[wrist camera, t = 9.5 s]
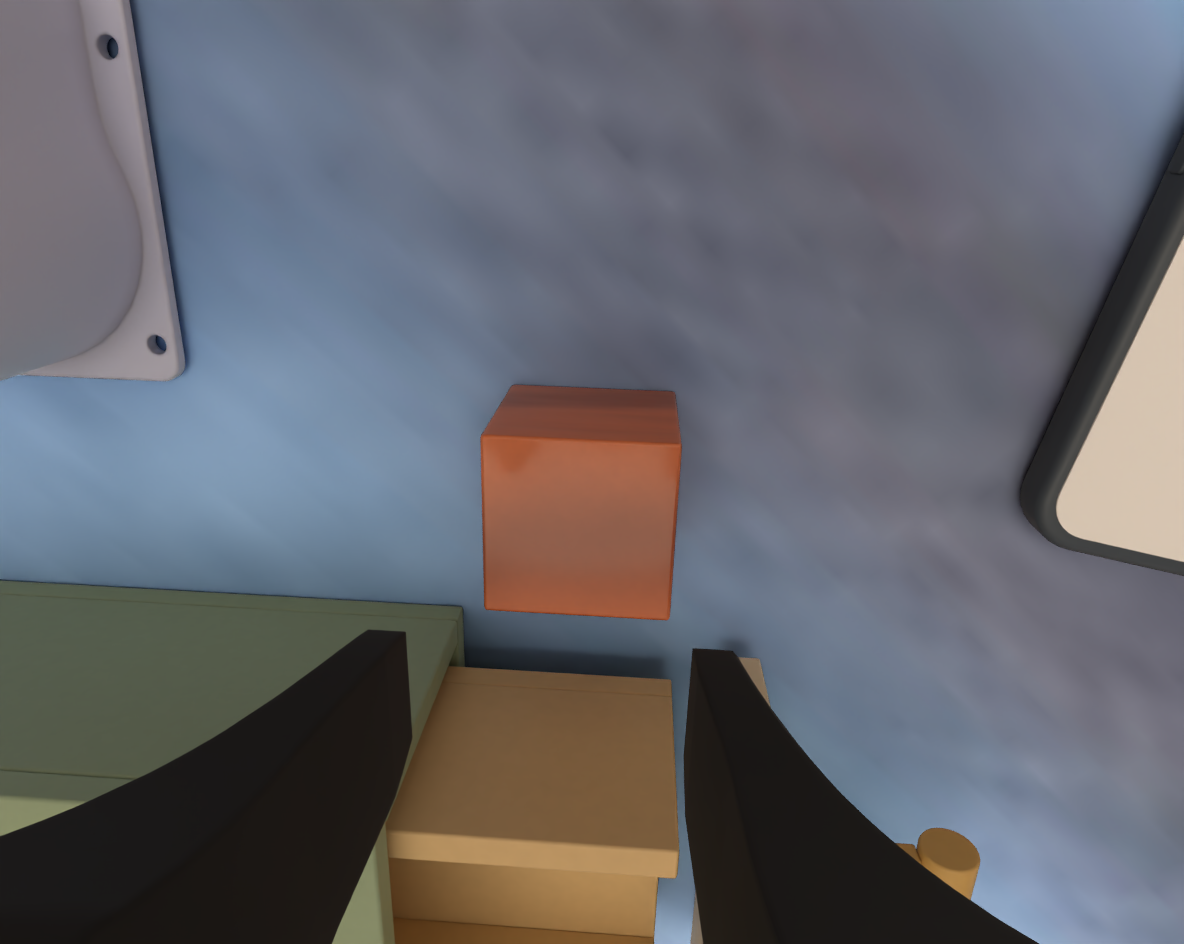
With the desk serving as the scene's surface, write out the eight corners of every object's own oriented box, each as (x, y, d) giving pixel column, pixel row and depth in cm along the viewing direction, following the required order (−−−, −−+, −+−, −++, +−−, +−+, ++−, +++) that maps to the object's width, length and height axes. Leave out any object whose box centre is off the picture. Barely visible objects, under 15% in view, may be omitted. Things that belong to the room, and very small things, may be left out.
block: (511, 383, 22) (479, 434, 18) (675, 391, 22) (682, 444, 17) (512, 532, 23) (483, 611, 19) (665, 540, 23) (670, 621, 19)
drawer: (934, 667, 23) (1043, 860, 17) (873, 957, 27) (942, 1200, 21) (264, 628, 24) (127, 795, 18) (303, 913, 28) (202, 1133, 22)
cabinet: (463, 605, 24) (372, 823, 16) (473, 916, 29) (406, 1207, 21) (-37, 577, 25) (-359, 771, 17) (49, 884, 30) (-173, 1152, 22)
